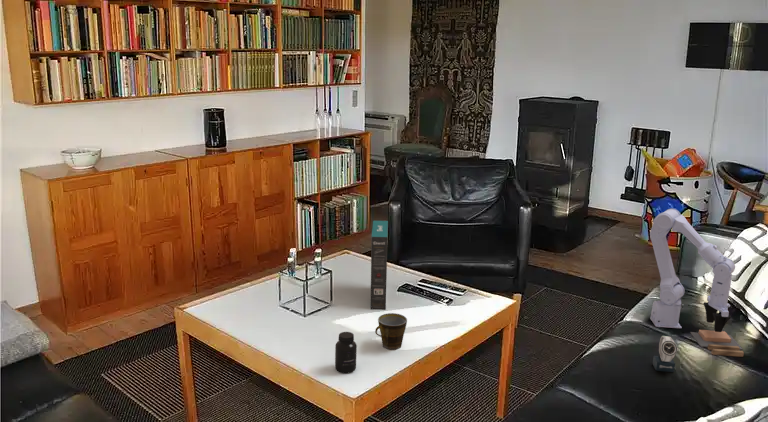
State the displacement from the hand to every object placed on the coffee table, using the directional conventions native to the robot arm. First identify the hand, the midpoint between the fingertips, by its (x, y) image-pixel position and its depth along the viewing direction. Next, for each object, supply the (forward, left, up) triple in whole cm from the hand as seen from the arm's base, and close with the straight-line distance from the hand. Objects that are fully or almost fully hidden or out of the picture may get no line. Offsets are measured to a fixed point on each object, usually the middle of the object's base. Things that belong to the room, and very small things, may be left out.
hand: (713, 326), depth 229 cm
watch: (-25, -27, -4) cm, 37 cm away
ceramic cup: (-116, -27, -4) cm, 119 cm away
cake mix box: (-125, +14, -4) cm, 126 cm away
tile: (0, -5, -3) cm, 6 cm away
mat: (0, -4, -4) cm, 5 cm away
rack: (0, -12, -4) cm, 13 cm away
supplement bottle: (-128, -44, -4) cm, 135 cm away
